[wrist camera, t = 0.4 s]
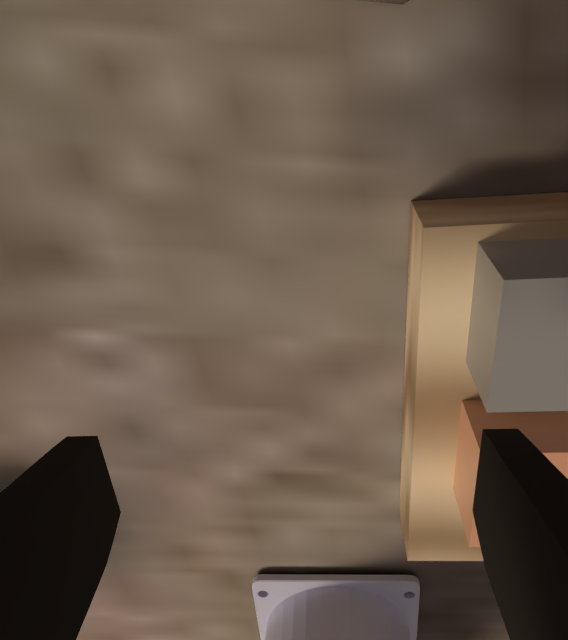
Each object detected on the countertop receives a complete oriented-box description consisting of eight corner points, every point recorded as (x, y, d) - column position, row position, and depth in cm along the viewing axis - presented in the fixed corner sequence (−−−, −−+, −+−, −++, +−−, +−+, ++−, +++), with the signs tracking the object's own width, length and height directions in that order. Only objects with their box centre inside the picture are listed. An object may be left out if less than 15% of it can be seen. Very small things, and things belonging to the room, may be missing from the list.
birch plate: (589, 510, 23) (616, 561, 21) (399, 511, 24) (407, 561, 22) (679, 185, 16) (733, 211, 14) (411, 200, 17) (423, 227, 15)
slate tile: (599, 357, 17) (640, 409, 15) (465, 362, 17) (486, 412, 15) (628, 234, 15) (681, 272, 13) (477, 242, 15) (504, 280, 13)
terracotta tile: (567, 486, 19) (598, 547, 17) (452, 488, 20) (469, 546, 18) (589, 397, 17) (627, 451, 15) (461, 400, 18) (481, 453, 16)
